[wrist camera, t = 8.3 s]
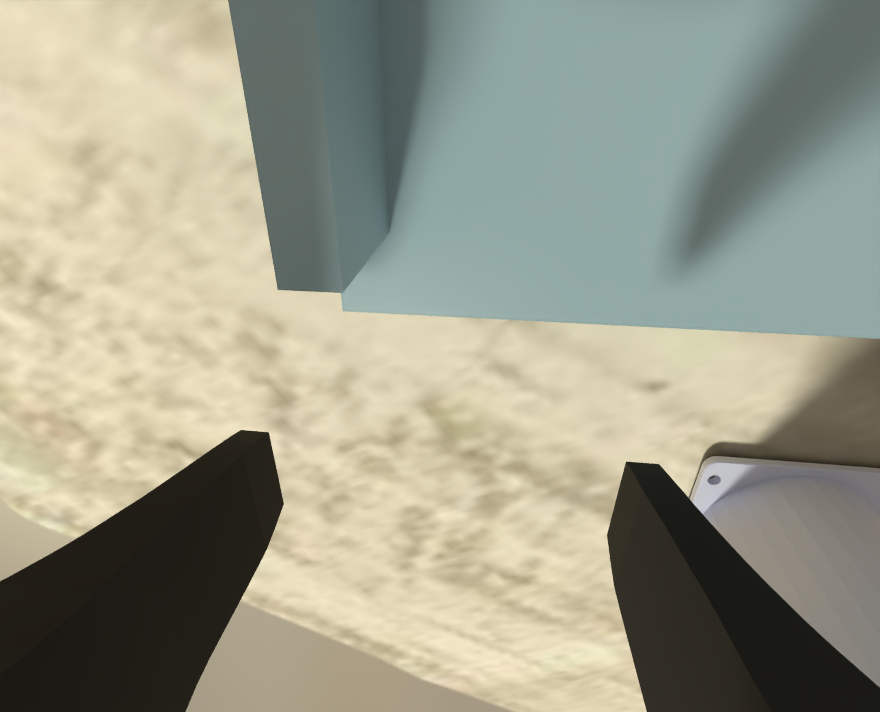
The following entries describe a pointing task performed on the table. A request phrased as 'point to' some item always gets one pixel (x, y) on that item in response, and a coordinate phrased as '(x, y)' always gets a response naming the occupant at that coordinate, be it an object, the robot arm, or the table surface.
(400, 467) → the table surface
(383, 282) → the lid
